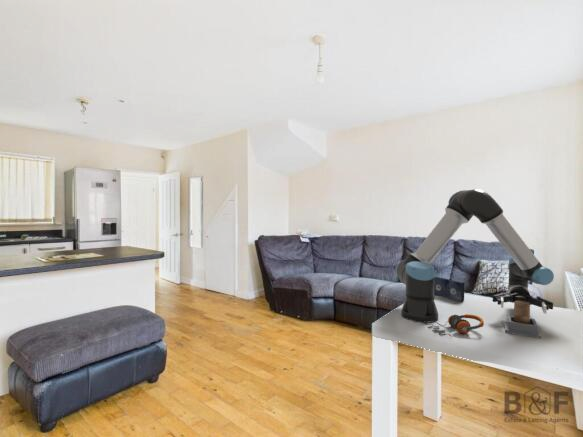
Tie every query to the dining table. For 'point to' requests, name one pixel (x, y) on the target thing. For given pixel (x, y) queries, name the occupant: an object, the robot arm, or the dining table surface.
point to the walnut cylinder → (522, 312)
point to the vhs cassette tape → (449, 289)
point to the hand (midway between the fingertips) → (523, 307)
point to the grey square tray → (522, 327)
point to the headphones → (459, 323)
